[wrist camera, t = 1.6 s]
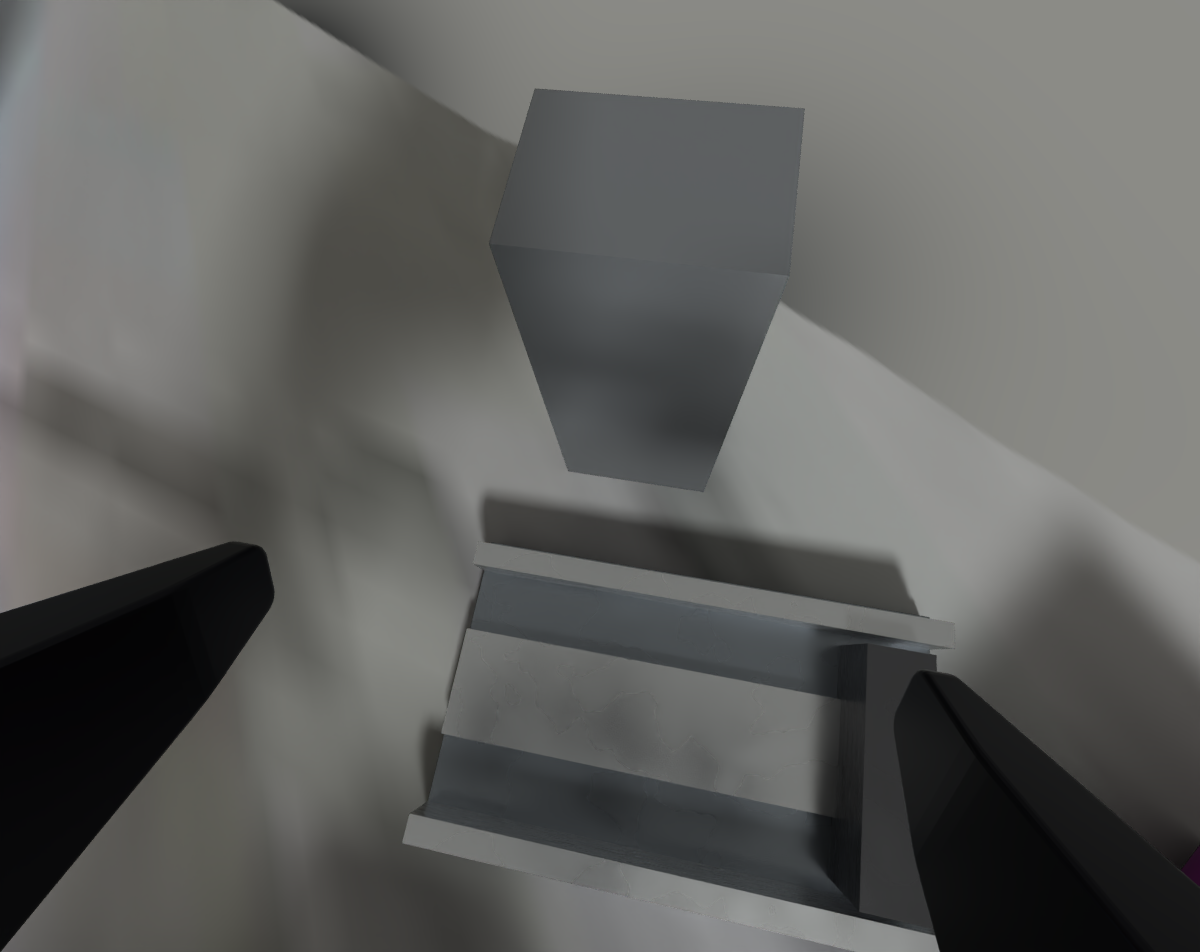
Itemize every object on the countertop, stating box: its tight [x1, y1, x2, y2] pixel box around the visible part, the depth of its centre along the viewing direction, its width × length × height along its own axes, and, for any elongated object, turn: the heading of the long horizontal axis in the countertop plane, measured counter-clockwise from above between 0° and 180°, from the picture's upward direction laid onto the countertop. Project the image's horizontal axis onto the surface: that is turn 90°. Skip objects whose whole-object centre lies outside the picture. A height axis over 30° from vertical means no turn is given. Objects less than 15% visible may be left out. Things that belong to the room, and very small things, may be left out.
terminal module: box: [489, 89, 805, 492], centre depth 17 cm, size 5×6×13 cm
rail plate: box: [402, 541, 955, 952], centre depth 18 cm, size 16×10×3 cm, turn 80°
